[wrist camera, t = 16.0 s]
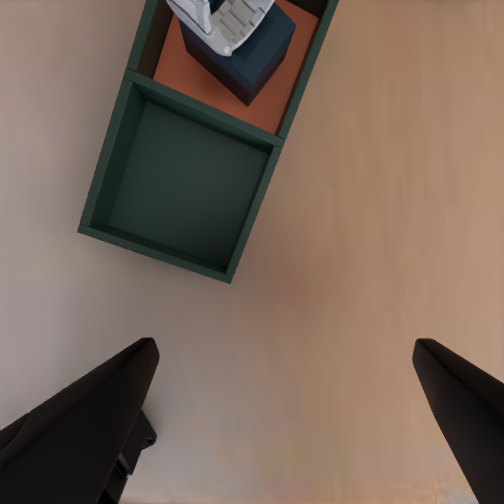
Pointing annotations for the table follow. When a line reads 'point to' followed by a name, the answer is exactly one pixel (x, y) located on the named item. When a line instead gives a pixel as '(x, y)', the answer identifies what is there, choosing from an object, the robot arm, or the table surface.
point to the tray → (194, 146)
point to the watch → (236, 40)
